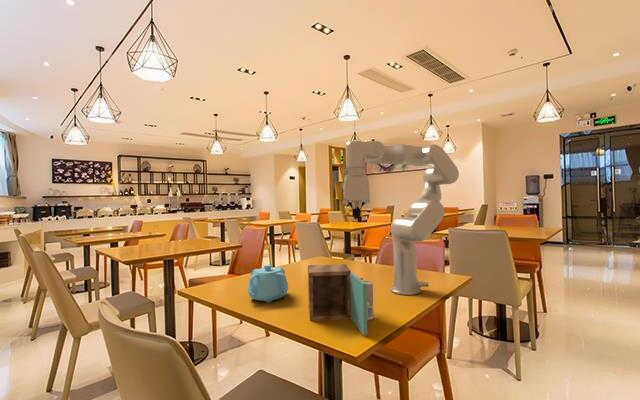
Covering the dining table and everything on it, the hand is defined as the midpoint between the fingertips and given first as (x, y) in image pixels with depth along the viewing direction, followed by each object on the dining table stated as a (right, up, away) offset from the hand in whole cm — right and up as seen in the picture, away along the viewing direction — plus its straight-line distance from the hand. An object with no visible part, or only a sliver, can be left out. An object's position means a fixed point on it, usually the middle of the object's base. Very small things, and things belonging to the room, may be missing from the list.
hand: (356, 218), depth 131 cm
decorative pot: (-36, -33, +4) cm, 49 cm away
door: (-2, -32, -28) cm, 43 cm away
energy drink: (+1, -33, -20) cm, 38 cm away
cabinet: (-11, -33, -16) cm, 38 cm away
